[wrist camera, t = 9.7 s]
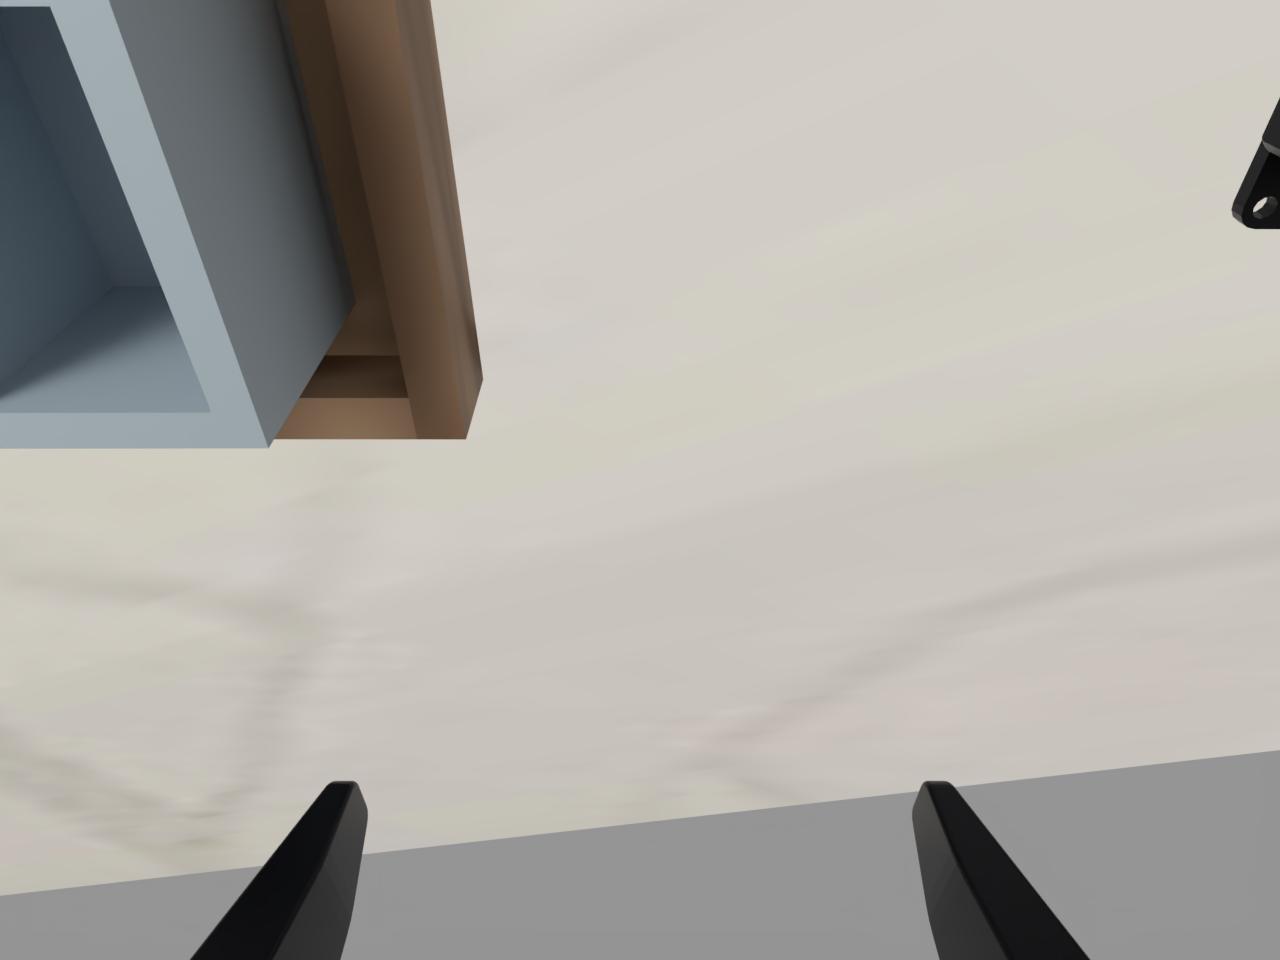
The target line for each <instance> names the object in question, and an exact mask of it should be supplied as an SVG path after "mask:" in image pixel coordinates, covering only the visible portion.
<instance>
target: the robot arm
mask: <svg viewBox="0 0 1280 960" xmlns="http://www.w3.org/2000/svg"><path fill="white" fill-rule="evenodd" d="M1264 198H1267V200H1266V203H1265V204H1264V205H1263V207H1262V208H1260V209H1259V210H1257V211H1255V212H1253V210H1254V207H1255V206H1256V204H1257V203H1258V202H1259V201H1261V200H1262V199H1264ZM1231 211H1232V215H1233V217H1234V218H1235V219H1236V220H1237V221H1238V222H1240V223H1241V224H1243V225H1244V226H1246V227H1247V228H1251V229H1280V98H1279V100H1278V102H1277V105H1276V107H1275V109H1274V111H1273V113H1272V115H1271V118H1270V120H1269V122H1268V124H1267V126H1266V129H1265V131H1264V133H1263V135H1262V141H1261V143H1260V145H1259V147H1258V149H1257V151H1256V154H1255V156H1254V158H1253V160H1252V162H1251V164H1250V167H1249V169H1248V171H1247V173H1246V175H1245V178H1244V180H1243V182H1242V184H1241V186H1240V188H1239V191H1238V193H1237V195H1236V197H1235V199H1234V201H1233V205H1232V209H1231ZM367 822H368V808H367V805H366V803H365V800H364V797H363V795H362V792H361V790H360V787H359V785H358V783H357V782H355V781H332V782H330V783H329V784H328V785H327V786H326V787H325V788H324V789H323V791H322V792H321V793H320V794H319V796H318V797H317V798H316V799H315V801H314V802H313V803H312V805H311V806H310V807H309V808H308V810H307V811H306V812H305V813H304V815H303V816H302V817H301V819H300V820H299V821H298V822H297V824H296V825H295V826H294V827H293V829H292V830H291V831H290V832H289V834H288V835H287V836H286V838H285V839H284V840H283V841H282V843H281V844H280V845H279V846H278V848H277V849H276V850H275V852H274V853H273V854H272V855H271V857H270V858H269V859H268V860H267V862H266V863H265V864H264V866H263V867H262V868H261V869H260V871H259V872H258V873H257V874H256V876H255V877H254V878H253V880H252V881H251V882H250V883H249V885H248V886H247V887H246V888H245V890H244V891H243V892H242V894H241V895H240V896H239V897H238V899H237V900H236V901H235V902H234V904H233V905H232V906H231V908H230V909H229V910H228V911H227V913H226V914H225V915H224V916H223V918H222V919H221V920H220V922H219V923H218V924H217V925H216V927H215V928H214V929H213V930H212V932H211V933H210V934H209V936H208V937H207V938H206V939H205V941H204V942H203V943H202V944H201V946H200V947H199V948H198V950H197V951H196V952H195V953H194V955H193V956H192V957H191V958H190V960H341V956H342V953H343V949H344V945H345V942H346V938H347V934H348V930H349V926H350V922H351V918H352V913H353V907H354V902H355V895H356V889H357V883H358V877H359V871H360V865H361V859H362V853H363V847H364V841H365V835H366V829H367ZM912 822H913V828H914V835H915V841H916V847H917V853H918V859H919V865H920V871H921V877H922V883H923V889H924V895H925V902H926V907H927V913H928V918H929V922H930V926H931V930H932V934H933V938H934V942H935V945H936V949H937V953H938V956H939V960H1090V958H1089V957H1088V956H1087V954H1086V953H1085V952H1084V951H1083V949H1082V948H1081V947H1080V946H1079V944H1078V943H1077V942H1076V941H1075V939H1074V938H1073V937H1072V935H1071V934H1070V933H1069V932H1068V930H1067V929H1066V928H1065V927H1064V925H1063V924H1062V923H1061V921H1060V920H1059V919H1058V918H1057V916H1056V915H1055V914H1054V913H1053V911H1052V910H1051V909H1050V907H1049V906H1048V905H1047V904H1046V902H1045V901H1044V900H1043V899H1042V897H1041V896H1040V895H1039V893H1038V892H1037V891H1036V890H1035V888H1034V887H1033V886H1032V885H1031V883H1030V882H1029V881H1028V879H1027V878H1026V877H1025V876H1024V874H1023V873H1022V872H1021V871H1020V869H1019V868H1018V867H1017V866H1016V864H1015V863H1014V862H1013V860H1012V859H1011V858H1010V857H1009V855H1008V854H1007V853H1006V852H1005V850H1004V849H1003V848H1002V846H1001V845H1000V844H999V843H998V841H997V840H996V839H995V838H994V836H993V835H992V834H991V832H990V831H989V830H988V829H987V827H986V826H985V825H984V824H983V822H982V821H981V820H980V818H979V817H978V816H977V815H976V813H975V812H974V811H973V810H972V808H971V807H970V806H969V804H968V803H967V802H966V801H965V799H964V798H963V797H962V796H961V794H960V793H959V792H958V791H957V789H956V788H955V787H954V786H953V785H952V784H951V783H950V782H948V781H925V782H923V783H922V785H921V787H920V790H919V792H918V795H917V798H916V800H915V803H914V805H913V809H912Z"/></svg>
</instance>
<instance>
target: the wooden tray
mask: <svg viewBox="0 0 1280 960" xmlns="http://www.w3.org/2000/svg"><path fill="white" fill-rule="evenodd" d="M284 2H285V6H286V10H287V14H288V19H289V23H290V27H291V31H292V35H293V39H294V44H295V48H296V52H297V56H298V60H299V65H300V69H301V73H302V77H303V81H304V85H305V90H306V94H307V98H308V102H309V106H310V110H311V115H312V119H313V123H314V127H315V131H316V136H317V140H318V144H319V148H320V152H321V156H322V161H323V165H324V169H325V173H326V177H327V181H328V186H329V190H330V194H331V198H332V202H333V207H334V211H335V215H336V219H337V223H338V227H339V232H340V236H341V240H342V244H343V248H344V252H345V257H346V261H347V265H348V269H349V273H350V277H351V282H352V286H353V290H354V294H355V298H356V304H355V305H354V307H353V309H352V310H351V312H350V314H349V315H348V317H347V319H346V320H345V322H344V324H343V325H342V327H341V329H340V330H339V332H338V334H337V335H336V337H335V339H334V340H333V342H332V344H331V345H330V347H329V349H328V350H327V352H326V354H325V355H324V357H323V359H322V360H321V362H320V364H319V365H318V367H317V369H316V370H315V372H314V374H313V375H312V377H311V379H310V380H309V382H308V384H307V385H306V387H305V389H304V390H303V392H302V394H301V395H300V397H299V399H298V400H297V402H296V404H295V405H294V407H293V409H292V410H291V412H290V414H289V415H288V417H287V419H286V420H285V422H284V424H283V425H282V427H281V429H280V430H279V432H278V434H277V435H276V437H275V439H466V438H467V435H468V431H469V428H470V424H471V421H472V417H473V414H474V410H475V407H476V403H477V400H478V396H479V393H480V389H481V386H482V382H483V373H482V366H481V359H480V352H479V345H478V338H477V330H476V323H475V316H474V309H473V302H472V295H471V287H470V280H469V273H468V266H467V259H466V252H465V244H464V237H463V230H462V223H461V216H460V209H459V201H458V194H457V187H456V180H455V173H454V166H453V158H452V151H451V144H450V137H449V130H448V123H447V115H446V108H445V101H444V94H443V87H442V80H441V72H440V65H439V58H438V51H437V44H436V37H435V29H434V22H433V15H432V8H431V1H430V0H284Z"/></svg>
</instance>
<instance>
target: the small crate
mask: <svg viewBox="0 0 1280 960" xmlns="http://www.w3.org/2000/svg"><path fill="white" fill-rule="evenodd" d="M355 304H356V298H355V294H354V290H353V286H352V282H351V277H350V273H349V269H348V265H347V261H346V257H345V252H344V248H343V244H342V240H341V236H340V232H339V227H338V223H337V219H336V215H335V211H334V207H333V202H332V198H331V194H330V190H329V186H328V181H327V177H326V173H325V169H324V165H323V161H322V156H321V152H320V148H319V144H318V140H317V136H316V131H315V127H314V123H313V119H312V115H311V110H310V106H309V102H308V98H307V94H306V90H305V85H304V81H303V77H302V73H301V69H300V65H299V60H298V56H297V52H296V48H295V44H294V39H293V35H292V31H291V27H290V23H289V19H288V14H287V10H286V6H285V2H284V0H0V449H186V448H269V447H270V445H271V444H272V442H273V440H274V439H275V437H276V435H277V434H278V432H279V430H280V429H281V427H282V425H283V424H284V422H285V420H286V419H287V417H288V415H289V414H290V412H291V410H292V409H293V407H294V405H295V404H296V402H297V400H298V399H299V397H300V395H301V394H302V392H303V390H304V389H305V387H306V385H307V384H308V382H309V380H310V379H311V377H312V375H313V374H314V372H315V370H316V369H317V367H318V365H319V364H320V362H321V360H322V359H323V357H324V355H325V354H326V352H327V350H328V349H329V347H330V345H331V344H332V342H333V340H334V339H335V337H336V335H337V334H338V332H339V330H340V329H341V327H342V325H343V324H344V322H345V320H346V319H347V317H348V315H349V314H350V312H351V310H352V309H353V307H354V305H355Z"/></svg>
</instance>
